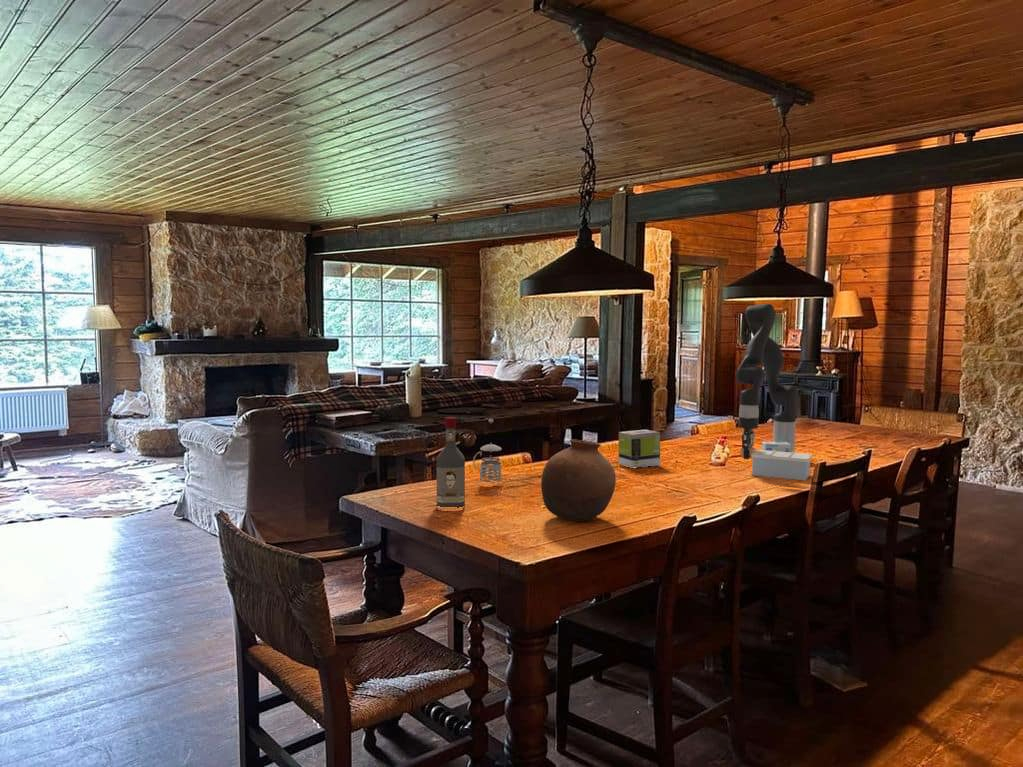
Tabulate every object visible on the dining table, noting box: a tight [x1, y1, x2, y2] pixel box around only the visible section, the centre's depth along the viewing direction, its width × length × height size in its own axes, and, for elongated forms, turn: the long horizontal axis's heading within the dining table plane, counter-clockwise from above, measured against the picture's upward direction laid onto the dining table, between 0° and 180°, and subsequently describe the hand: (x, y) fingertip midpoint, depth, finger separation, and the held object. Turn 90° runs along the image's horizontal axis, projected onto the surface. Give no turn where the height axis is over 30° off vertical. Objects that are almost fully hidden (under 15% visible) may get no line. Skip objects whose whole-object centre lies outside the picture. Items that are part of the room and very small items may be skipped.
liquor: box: [436, 416, 466, 508], centre depth 244 cm, size 9×9×30 cm
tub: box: [751, 457, 811, 481], centre depth 295 cm, size 11×20×8 cm, turn 62°
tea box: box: [618, 429, 661, 469], centre depth 317 cm, size 15×10×15 cm, turn 115°
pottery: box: [540, 438, 617, 522], centre depth 231 cm, size 23×23×25 cm
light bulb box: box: [761, 441, 791, 452], centre depth 314 cm, size 11×7×11 cm, turn 84°
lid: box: [739, 447, 813, 462], centre depth 296 cm, size 12×26×2 cm, turn 62°
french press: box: [472, 418, 502, 483], centre depth 280 cm, size 10×12×25 cm
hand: (747, 457), depth 301 cm, fingers closed on lid, 4 cm apart
